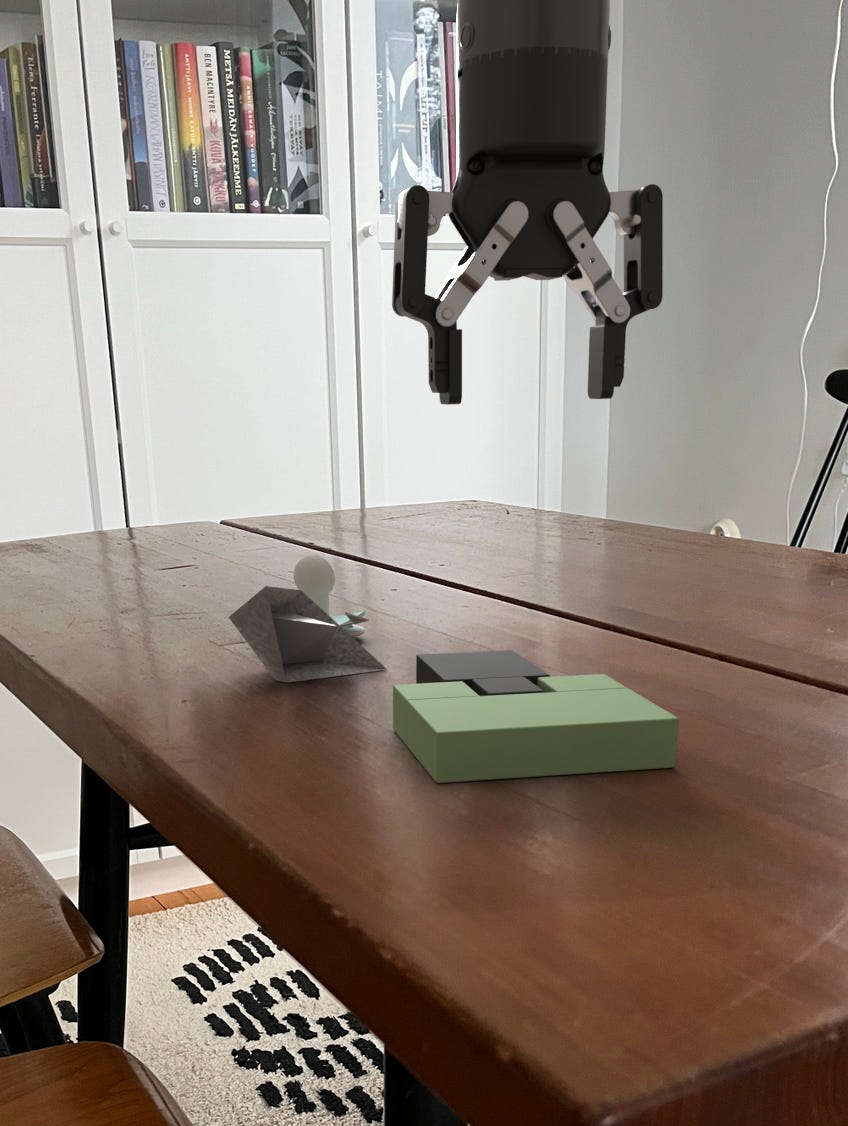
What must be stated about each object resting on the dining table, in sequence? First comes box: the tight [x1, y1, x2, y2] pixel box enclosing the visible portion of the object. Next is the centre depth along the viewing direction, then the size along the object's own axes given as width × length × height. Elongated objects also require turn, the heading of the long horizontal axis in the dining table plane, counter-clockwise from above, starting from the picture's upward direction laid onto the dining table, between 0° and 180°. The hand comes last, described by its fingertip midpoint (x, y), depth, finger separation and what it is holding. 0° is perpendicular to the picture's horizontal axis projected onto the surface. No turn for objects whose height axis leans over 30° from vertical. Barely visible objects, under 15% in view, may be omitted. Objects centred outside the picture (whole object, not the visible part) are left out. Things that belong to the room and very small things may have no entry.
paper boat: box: [228, 585, 388, 684], centre depth 79 cm, size 12×6×9 cm
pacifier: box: [293, 554, 366, 638], centre depth 91 cm, size 7×6×6 cm
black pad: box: [415, 649, 551, 696], centre depth 71 cm, size 6×10×2 cm, turn 11°
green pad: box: [392, 673, 680, 784], centre depth 65 cm, size 12×10×2 cm
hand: (525, 401), depth 69 cm, fingers open, 8 cm apart
